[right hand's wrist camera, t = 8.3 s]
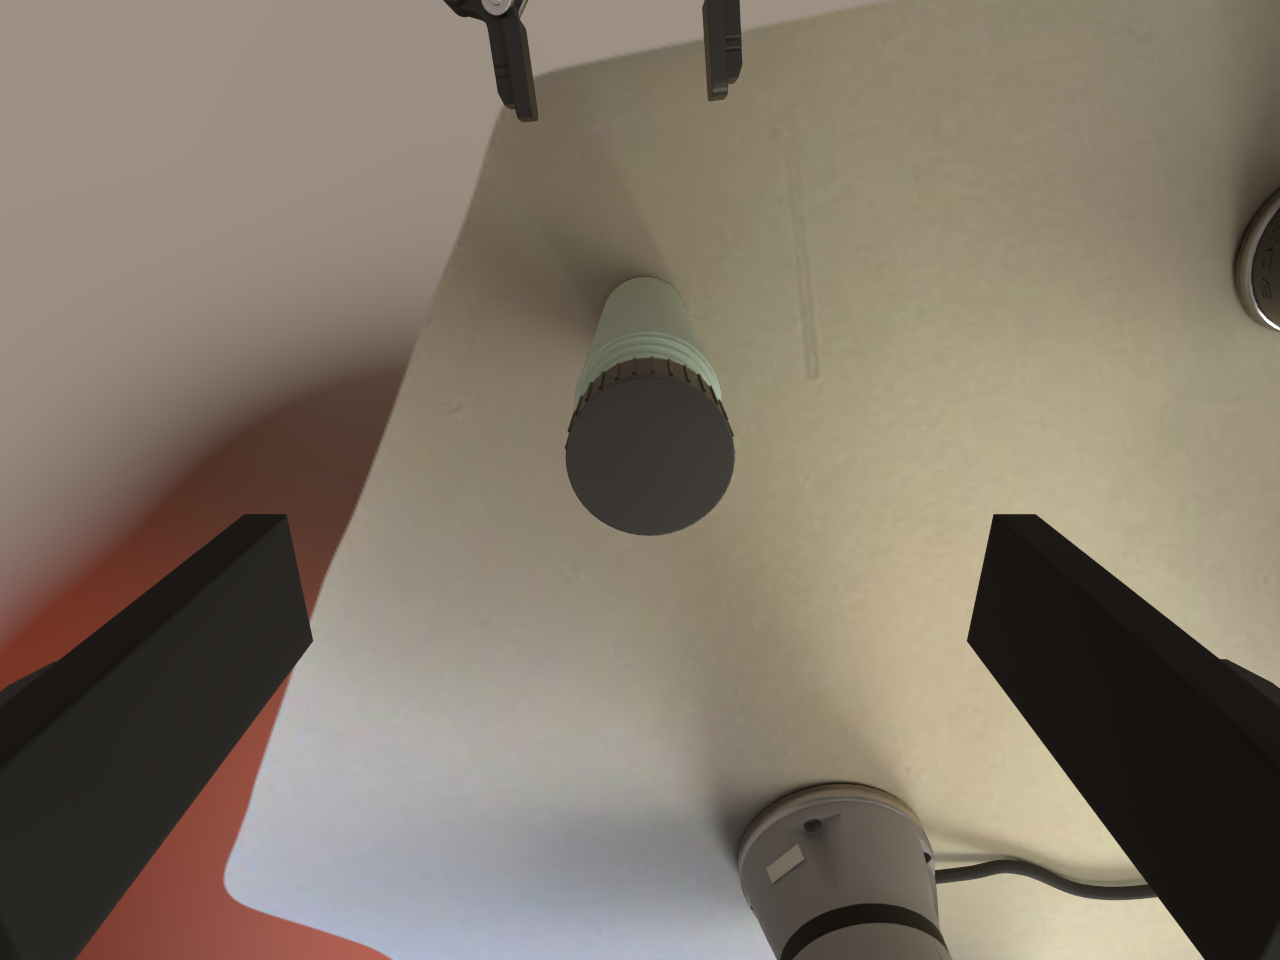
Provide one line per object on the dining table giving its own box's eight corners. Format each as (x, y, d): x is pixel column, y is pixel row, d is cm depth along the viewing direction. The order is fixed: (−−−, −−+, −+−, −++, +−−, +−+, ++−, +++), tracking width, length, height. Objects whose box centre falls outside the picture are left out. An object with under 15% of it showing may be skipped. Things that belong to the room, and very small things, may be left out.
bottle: (702, 337, 41) (772, 487, 19) (628, 377, 42) (616, 565, 20) (661, 260, 39) (688, 328, 17) (586, 304, 40) (522, 421, 18)
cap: (752, 459, 21) (766, 490, 19) (620, 527, 22) (618, 564, 20) (680, 325, 19) (686, 341, 17) (542, 403, 20) (530, 428, 18)
